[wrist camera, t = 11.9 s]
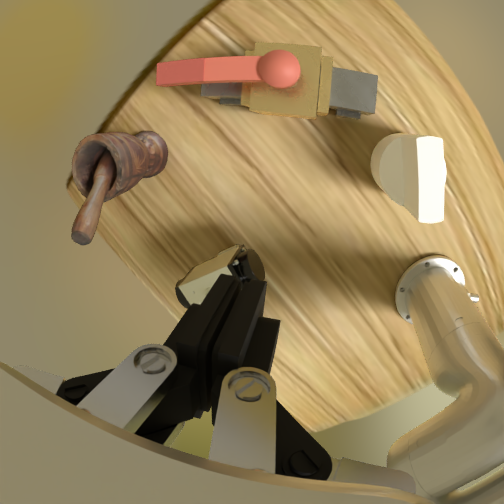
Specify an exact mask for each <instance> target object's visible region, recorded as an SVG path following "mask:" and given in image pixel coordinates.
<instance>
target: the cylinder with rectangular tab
mask: <svg viewBox="0 0 504 504" xmlns="http://www.w3.org/2000/svg"><path fill="white" fill-rule="evenodd" d="M371 171H372V176H373V178H374V180H375V182H376V183H377V185H378V186H379V187H380V188H381V189H382V190H383V191H384V192H385V193H386V194H387V195H388V196H389V197H390V198H391V199H392V200H393V201H394V202H396V203H397V204H399V205H401V206H404V207H405V208H406V209H407V210H408V211H409V212H410V213H411V214H412V215H413V216H414V217H415V218H416V219H417V220H418V221H419V222H421V223H437V222H441V221H443V218H444V184H445V181H446V164H445V160H444V152H443V139H441V138H438V137H433V136H425V135H415V134H404V133H396V134H391V135H388V136H386V137H384V138H383V139H382V140H381V141H380V142H378V143H377V145H376V147H375V148H374V150H373V153H372V156H371Z"/></svg>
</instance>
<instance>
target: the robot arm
mask: <svg viewBox="0 0 504 504" xmlns="http://www.w3.org/2000/svg"><path fill="white" fill-rule="evenodd" d="M266 286H267V282H266V281H261V280H255V279H251V281H250V283H249V282H245V283H244V285H243V287H242V289H241V281H238V280H237V278H236V276H232V275H227V274H220V275H219V277H218V278H217V280H216V282H215V283H214V285H213V286H212V288H211V289H210V291H209V292H208V294H207V295H206V297H205V298H204V300H203V301H202V303H201V304H195V303H193V304H191V306H190V307H189V308H188V310H187V311H186V313H185V314H184V315H183V317H182V318H181V320H180V321H179V323H178V324H177V326H176V327H175V329H174V330H173V331H172V333H171V334H170V336H169V337H168V339H167V340H166V342H165V343H164V344H163V345H160V344H148V345H143V346H141V347H138V348H137V349H136V350H134V351H133V352H132V353H131V354H130V355H129V356H128V357H127V358H126V359H124V361H122V362H121V363H120V364H119V365H118V366H117V367H116V368H114V369H110V370H106V371H102V372H98V373H93V374H89V375H85V376H80V377H75V378H72V379H69V380H67V381H66V380H65V378H64V377H61V376H57V375H54V374H50V373H47V372H44V371H40V370H37V369H34V368H30V367H27V366H23V365H20V366H15V367H13V368H12V367H10V366H8V365H7V364H5V363H3V362H0V504H504V467H503V468H501V469H500V470H498V471H496V472H495V473H493V474H491V475H490V476H488V477H486V478H485V479H483V480H481V481H479V482H477V483H476V484H474V485H472V486H470V487H468V488H466V489H464V490H458V488H459V487H461V486H463V485H465V484H467V483H469V482H471V481H473V480H476V479H477V478H479V477H481V476H483V475H485V474H486V473H488V472H489V471H491V470H493V469H494V468H496V467H497V466H499V465H501V464H502V463H504V348H503V347H502V345H501V344H500V342H499V341H498V339H497V337H496V336H495V334H494V332H493V331H492V329H491V328H490V326H489V325H488V323H487V322H486V320H485V319H484V317H483V316H482V314H481V313H480V311H479V309H478V307H477V306H476V305H475V304H474V302H475V303H476V302H477V301H478V299H479V296H478V295H477V294H472V293H471V294H470V293H469V292H468V291H467V289H466V288H465V278H464V275H463V272H462V270H461V268H460V267H459V266H458V264H457V263H456V262H455V261H453V260H452V259H450V258H448V257H446V256H441V255H433V256H428V257H425V258H423V259H420V260H418V261H417V262H415V263H414V264H412V265H411V266H410V267H409V268H408V269H407V270H406V271H405V272H404V274H403V275H402V277H401V278H400V280H399V282H398V285H397V287H396V292H395V303H396V307H397V309H398V312H399V314H400V315H401V317H402V318H403V319H404V320H405V321H407V322H409V323H410V324H413V325H414V328H415V331H416V333H417V336H418V339H419V342H420V345H421V348H422V351H423V353H424V356H425V360H426V363H427V366H428V369H429V372H430V375H431V378H432V380H433V382H434V384H435V385H436V387H437V388H438V389H439V390H440V391H442V392H443V393H445V394H446V395H449V396H451V397H454V398H457V399H456V400H455V401H454V402H453V403H451V404H450V405H449V406H447V407H446V408H445V409H444V410H443V411H441V412H440V413H438V414H437V415H435V416H434V417H432V418H430V419H429V420H427V421H426V422H424V423H422V424H421V425H419V426H418V427H416V428H414V429H413V430H411V431H409V432H408V433H406V434H405V435H403V436H401V437H400V438H399V439H398V440H397V441H396V442H395V443H394V444H393V445H392V446H391V448H390V450H389V452H388V455H387V468H386V467H381V466H376V465H372V464H368V463H364V462H360V461H356V460H351V459H348V458H344V457H343V458H342V459H341V460H340V459H337V458H333V457H330V456H329V454H328V453H327V451H326V450H325V449H324V448H323V447H322V446H321V445H320V444H319V443H318V442H317V441H316V440H315V439H314V438H313V437H312V436H311V435H310V434H309V433H308V432H307V431H306V430H305V429H304V428H303V427H302V426H301V425H300V424H299V423H298V422H297V421H296V420H295V419H294V418H293V417H292V416H291V415H290V413H289V412H288V411H287V410H286V409H285V408H284V407H283V406H282V405H281V404H280V403H279V402H278V401H277V399H276V384H275V381H274V380H273V378H272V376H270V371H271V367H272V363H273V358H274V354H275V349H276V344H277V339H278V333H279V327H280V320H276V319H271V318H265V317H263V310H264V302H265V294H266ZM211 406H212V424H213V426H214V431H213V436H212V442H211V447H210V454H209V459H205V458H202V457H198V456H195V455H192V454H188V453H185V452H181V451H179V450H176V449H173V448H170V446H171V444H172V443H173V442H174V440H175V439H176V437H177V436H178V435H179V433H180V432H181V430H182V429H183V427H184V424H185V421H187V420H190V419H193V417H196V418H199V419H200V418H201V416H202V413H203V411H206V412H209V410H210V408H211Z"/></svg>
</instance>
